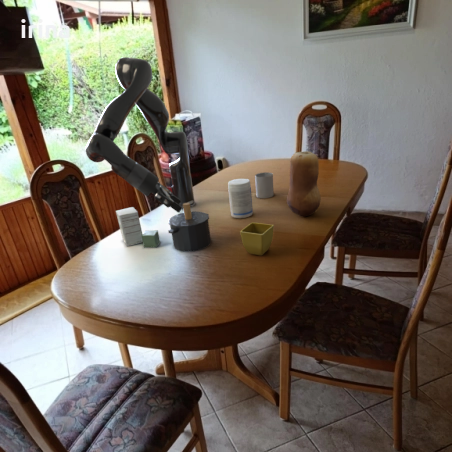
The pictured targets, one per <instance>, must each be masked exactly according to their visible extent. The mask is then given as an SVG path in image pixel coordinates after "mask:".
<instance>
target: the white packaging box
mask: <svg viewBox="0 0 452 452" xmlns="http://www.w3.org/2000/svg"><path fill="white" fill-rule="evenodd" d="M115 214H116V217H117V222H118V227H119V229H120V234H121V238H122V241H123V242H124V244H125V246H126V247H130V246H134V245H137V244H141V243H142V244H143V240H142V234H143V230H142V225H141V221H140V216H139V212H138V210H137V209H135V207H134V206H131V207H126V208H123V209H122V208H121V209H118V210H115Z"/></svg>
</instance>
